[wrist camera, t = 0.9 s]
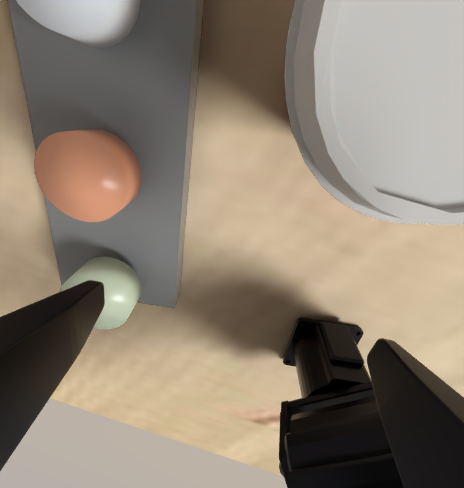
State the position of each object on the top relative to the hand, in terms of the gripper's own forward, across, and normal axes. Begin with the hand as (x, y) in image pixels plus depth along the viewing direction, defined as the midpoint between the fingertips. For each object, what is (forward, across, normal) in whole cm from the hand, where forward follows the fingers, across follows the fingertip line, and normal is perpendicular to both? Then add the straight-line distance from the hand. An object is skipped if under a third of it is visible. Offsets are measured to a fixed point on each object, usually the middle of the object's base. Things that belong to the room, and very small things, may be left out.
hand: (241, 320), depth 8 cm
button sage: (+10, +9, +8) cm, 16 cm away
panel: (+13, +10, -1) cm, 16 cm away
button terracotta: (+10, +10, -1) cm, 14 cm away
